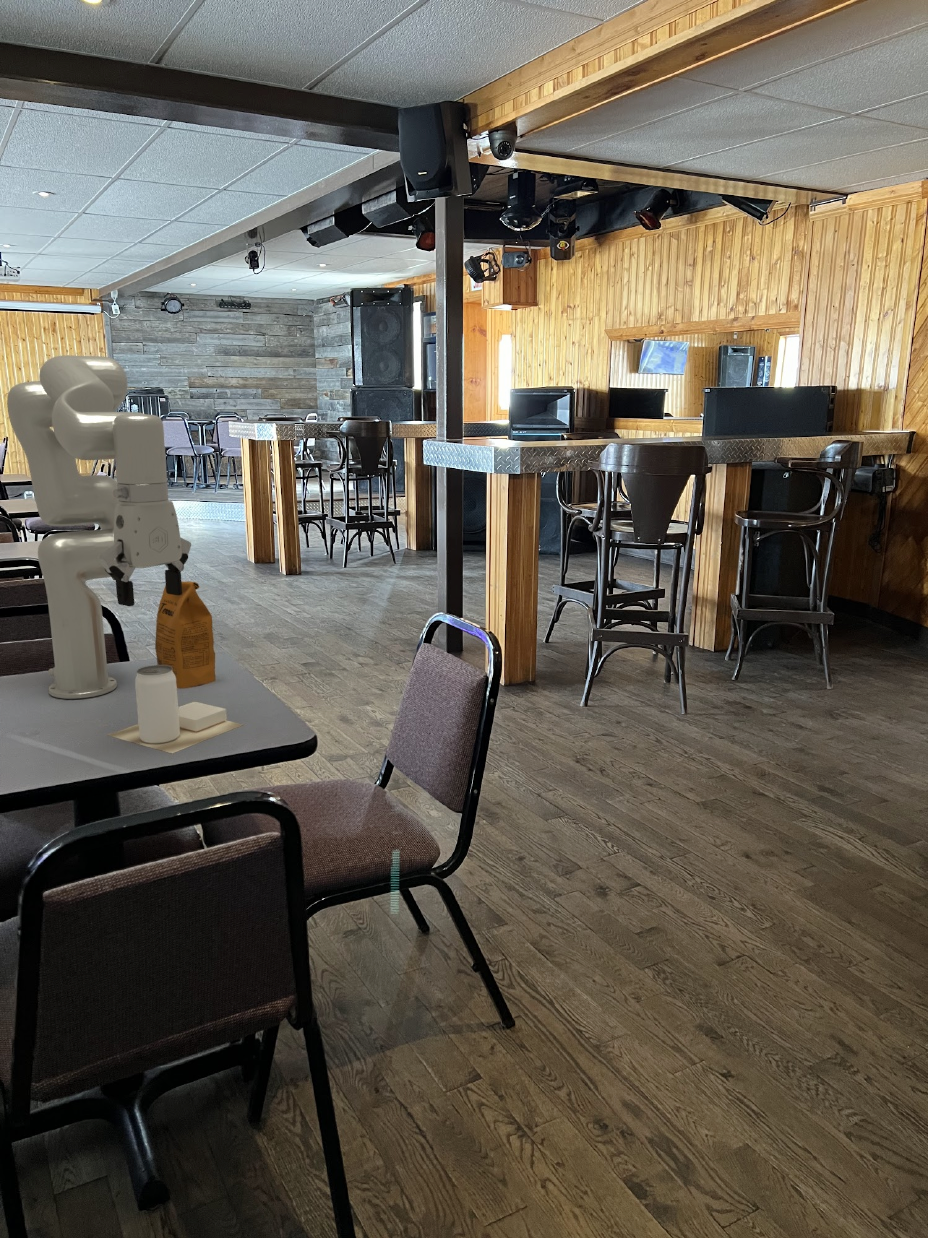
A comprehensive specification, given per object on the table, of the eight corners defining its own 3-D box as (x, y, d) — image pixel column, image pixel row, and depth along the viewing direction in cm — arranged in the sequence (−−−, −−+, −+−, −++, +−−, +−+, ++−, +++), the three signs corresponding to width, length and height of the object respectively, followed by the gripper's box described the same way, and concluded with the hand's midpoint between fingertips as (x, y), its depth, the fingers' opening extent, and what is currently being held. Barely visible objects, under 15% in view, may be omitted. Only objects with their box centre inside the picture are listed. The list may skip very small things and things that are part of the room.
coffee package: (197, 672, 196) (190, 570, 191) (222, 686, 187) (215, 579, 182) (151, 681, 190) (142, 576, 185) (175, 695, 181) (167, 585, 176)
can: (168, 746, 151) (162, 676, 149) (132, 743, 153) (126, 673, 150) (187, 732, 158) (182, 665, 155) (152, 730, 159) (147, 663, 156)
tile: (163, 712, 161) (195, 720, 157) (194, 701, 167) (226, 709, 163) (164, 724, 162) (196, 733, 157) (195, 713, 167) (226, 721, 163)
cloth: (107, 740, 157) (107, 735, 156) (180, 714, 170) (180, 709, 170) (172, 759, 148) (172, 753, 148) (244, 730, 162) (243, 724, 162)
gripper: (112, 500, 137) (122, 612, 141) (201, 491, 151) (207, 593, 155) (80, 497, 141) (90, 606, 145) (169, 488, 155) (176, 588, 159)
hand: (150, 599), depth 150 cm, fingers open, 9 cm apart
